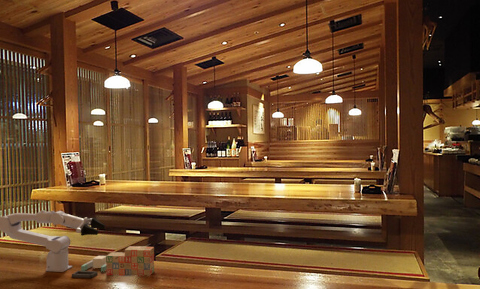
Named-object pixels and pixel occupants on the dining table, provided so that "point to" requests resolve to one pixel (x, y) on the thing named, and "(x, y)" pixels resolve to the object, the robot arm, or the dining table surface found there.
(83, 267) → the lane walls
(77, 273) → the trap pit
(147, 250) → the stack of blocks
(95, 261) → the cream block
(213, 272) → the dining table surface
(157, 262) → the dining table surface
